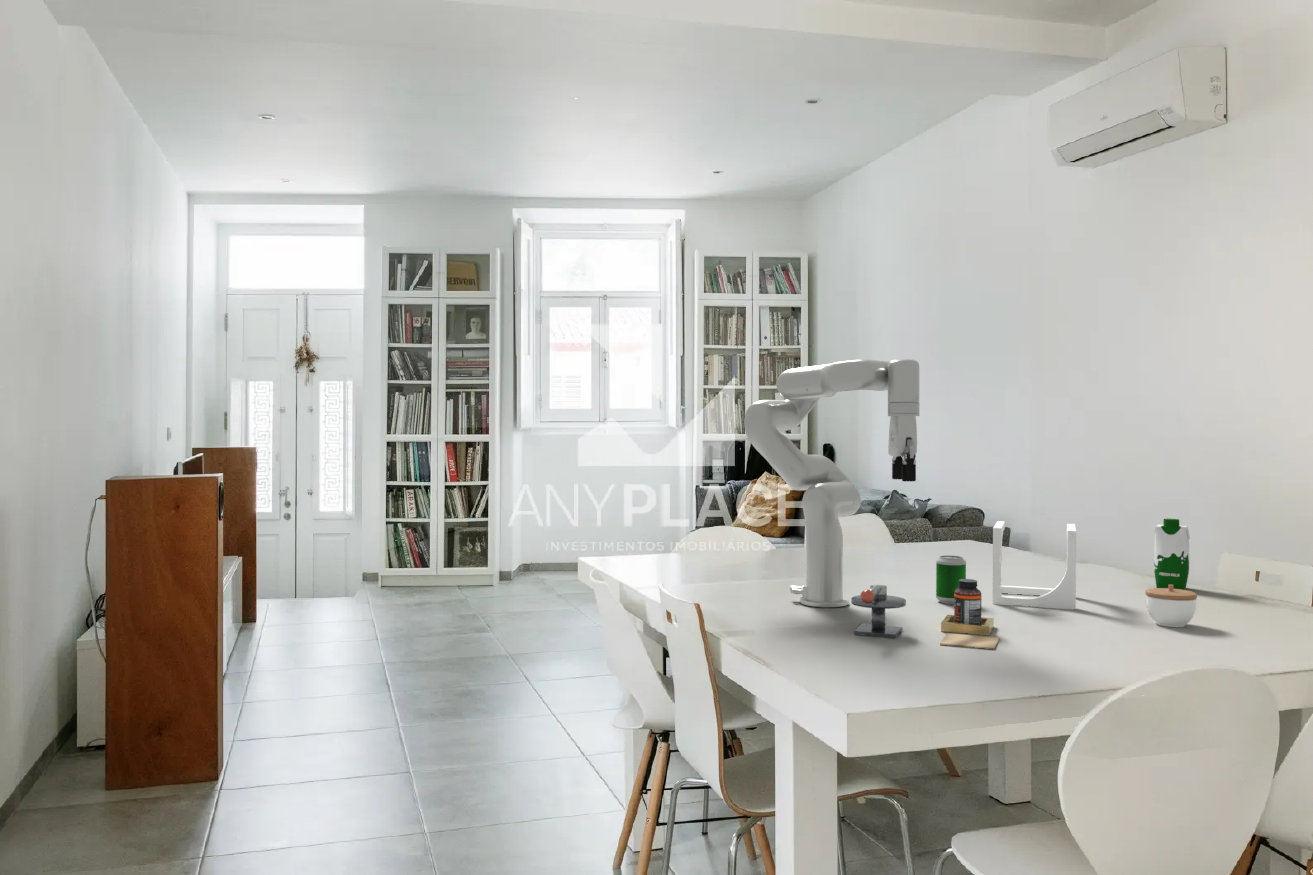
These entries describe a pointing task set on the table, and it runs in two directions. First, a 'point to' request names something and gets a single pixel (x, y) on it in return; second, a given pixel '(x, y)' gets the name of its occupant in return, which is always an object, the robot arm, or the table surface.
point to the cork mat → (970, 641)
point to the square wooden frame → (967, 626)
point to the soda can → (949, 577)
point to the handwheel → (878, 598)
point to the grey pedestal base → (878, 626)
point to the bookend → (1050, 597)
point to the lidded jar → (1171, 606)
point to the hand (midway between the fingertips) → (903, 480)
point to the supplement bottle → (967, 603)
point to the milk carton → (1171, 554)
